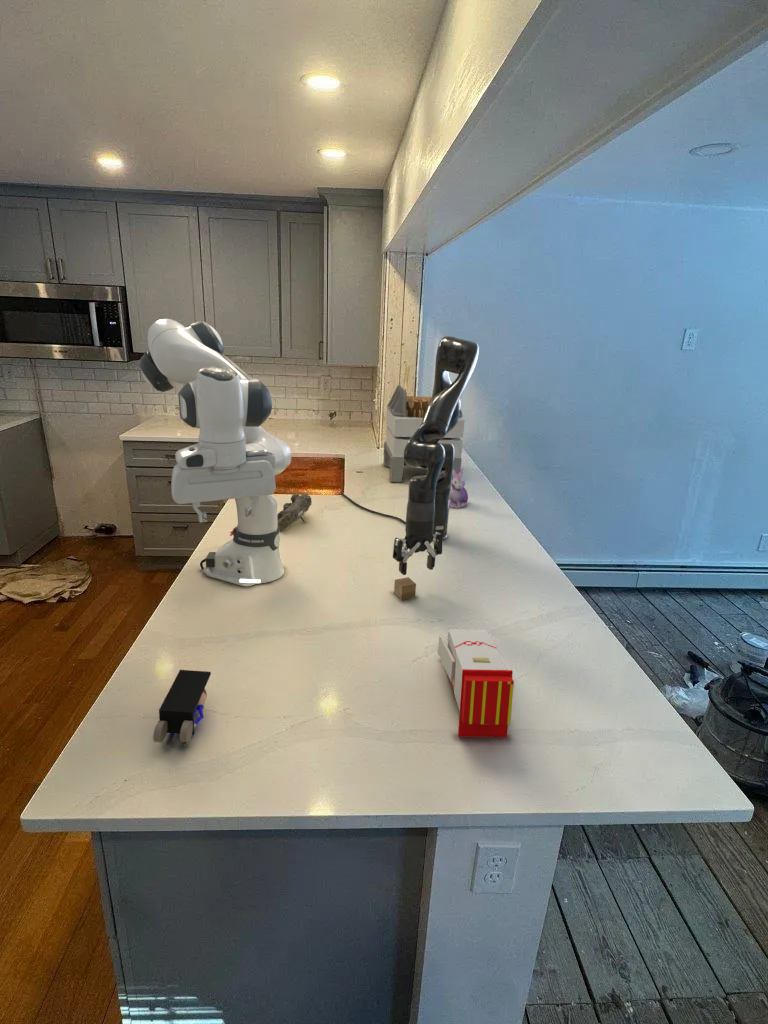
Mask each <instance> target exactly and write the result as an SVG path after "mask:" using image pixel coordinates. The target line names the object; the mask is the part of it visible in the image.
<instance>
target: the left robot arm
mask: <svg viewBox="0 0 768 1024" xmlns="http://www.w3.org/2000/svg"><path fill="white" fill-rule="evenodd" d="M146 341H147V346H148V351H144V353H143V354H142V356H141V357H140V359H139V364H138V366H139V368H140V373H141V375H142V378H143V380H145V382H146V383H147V384H148V385H149V386H151V387H152V388H153V389H155V390H156V391H159V392H162V393H165V392H168V391H171V390H174V388H175V387H176V386H179V385H181V384H182V385H183V386H182V387H181V388H180V390H179V391H178V393H177V395H178V397H177V398H178V407H179V418H180V419H181V421H182V422H184V423H185V424H186V425H187V426H189V427H191V428H195V429H199V434H198V442H197V443H195V444H192V445H189V446H187V447H183V448H181V449H178V450H177V451H175V455H174V456H175V457H174V458H175V461H176V464H175V465H174V466H173V468H172V471H171V481H170V482H171V483H170V489H171V490H170V491H171V498H172V500H173V502H175V503H176V504H177V505H183V504H184V505H185V504H190V505H191V507H192V509H193V510H194V512H196V514H197V520H198V522H199V523H200V524H201V523H207V522H208V513H207V512H206V511H201V509H200V508H201V503H203V502H206V503H207V502H214V501H225V500H234V501H235V504H236V514H237V515H236V516H237V525H236V526H235V527H233V529H232V530H231V531H230V532H229V536H230V537H231V536H233V537H232V538H231V539H230V540H228V541H227V542H225V543H223V545H222V546H221V547H219V548H218V549H217V550H216V551H209V552H208V554H206V557H205V558H204V559H202V560H201V561H200V562H199V567H200V569H201V571H203V570H205V576H206V577H209V578H214V579H217V580H220V581H223V582H227V583H230V584H234V585H238V586H242V587H244V588H245V587H251V586H254V585H259V584H265V583H271V582H274V581H276V580H279V579H280V578H281V577H282V576H283V575H284V574H285V568H284V565H283V562H282V558H281V552H280V542H281V535H280V530H279V526H278V518H277V515H278V501H277V500H276V499H275V497H273V496H272V495H274V493H275V492H276V489H277V486H276V476H279V475H280V474H282V472H284V471H285V470H286V469H288V467H289V466H290V464H291V463H292V451H291V448H290V445H288V443H287V442H285V441H284V440H283V439H281V438H278V437H276V436H275V435H272V434H271V433H269V432H268V431H266V430H265V428H263V427H262V425H263V424H264V423H265V421H267V420H268V418H269V417H270V416H271V414H272V410H273V401H272V395H271V393H270V390H269V389H268V387H267V386H266V385H265V384H264V383H263V382H262V381H261V380H260V379H258V378H256V377H251V376H250V375H249V374H248V373H246V372H245V371H244V370H243V369H242V368H241V367H240V366H238V365H237V364H236V363H235V362H234V361H233V360H232V359H230V358H229V357H228V356H226V355H224V352H225V348H224V344H223V340H222V337H221V335H220V334H219V332H218V331H217V330H216V329H215V328H214V327H213V326H211V325H210V324H209V323H207V321H203V320H201V321H196V322H193V323H191V324H190V326H188V327H186V326H184V325H183V324H182V323H180V322H178V321H177V320H174V319H172V318H162V319H158V320H156V321H155V322H153V323H152V324H151V325H150V327H149V328H148V331H147V340H146ZM204 563H205V567H204V565H203V564H204ZM205 568H206V569H205Z"/></svg>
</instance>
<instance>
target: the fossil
mask: <svg viewBox="0 0 768 1024" xmlns="http://www.w3.org/2000/svg"><path fill="white" fill-rule="evenodd" d="M290 501H291V502H285V503H284V504H283V509H282V510H281V511H279V512H277V518H278V526H279V531H283V530H286V529H288V528H290V527H291V526H292V525H294V524H295V523H296V522H297V521H298V520H300V519H301V520H302V522H303V523H305V522H306V521H305V519H304V518H303V515H304V514H305V513H307V512H308V511H309V509H310V507H311V506H312V502H313V501H312V497H311V496H310V495H309V494H307V493H302V494H301V495H300V494H299V493H297V494H295V493H293V494H292V495H291V497H290Z"/></svg>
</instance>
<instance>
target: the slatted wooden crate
mask: <svg viewBox="0 0 768 1024" xmlns="http://www.w3.org/2000/svg"><path fill="white" fill-rule="evenodd" d="M407 394H408V393H407V390H406V389H404V388H403V387H402V385H399V384H398V385H397V386H396V388H395V390H394V392H393V394H392V395H391V398H390V400H389V402H388V404H387V405H386V413H385V414H386V415H385V423H386V428H385V438H384V442H383V466H384V467H388V468H389V475H388V476H389V477H388V478H389V480H390V482H391V483H402V482H403V475H404V469H405V466H406V467H407V466H408V465H407V464H406V463H405V461H404V449H405V447H406V445H407V443H408V441H409V440H410V439H411V437H412V436H413V435H414V433H415V432H416V431H417V429H418V428H419V426H420V425H421V423H422V420H423V417H424V415H425V412H426V409H427V407H428V405H429V403H430V402H431V398H432V396H415V395H414V396H413V395H412V396H411V395H407ZM464 429H465V419H464V418H463V411H462V407H461V408H460V413H459V418H458V422H457V424H456V425H455V427H454V428H453V429H452V430H451V431H450V432H449V433H447V434H446V435H445V437H444V438H442V439H440V440H439V441H438V442H437V443H448V444H452V445H453V446H454V449H455V458H454V465H453V469H455V470H456V472H457V473H459V471H460V469H462V461H463V460H462V453H463V442H464V441H463V440H462V439H463V438H464V431H465V430H464ZM408 467H409V466H408ZM441 472H442V471H440V473H441ZM452 479H453V472H452ZM451 482H452V481H451Z"/></svg>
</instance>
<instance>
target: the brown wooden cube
mask: <svg viewBox="0 0 768 1024" xmlns="http://www.w3.org/2000/svg"><path fill="white" fill-rule="evenodd" d="M393 586H394V587H393V594H394V595H395V596H396V597H397V598H398V599H399V600H400V601H403V600H405V601H406V600H409V599H414V598H416V591H417V583H416V582H415V581H414V580H412V579H411V578H410V577H409V576H406V577H402V578H397V579H394V585H393Z"/></svg>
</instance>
